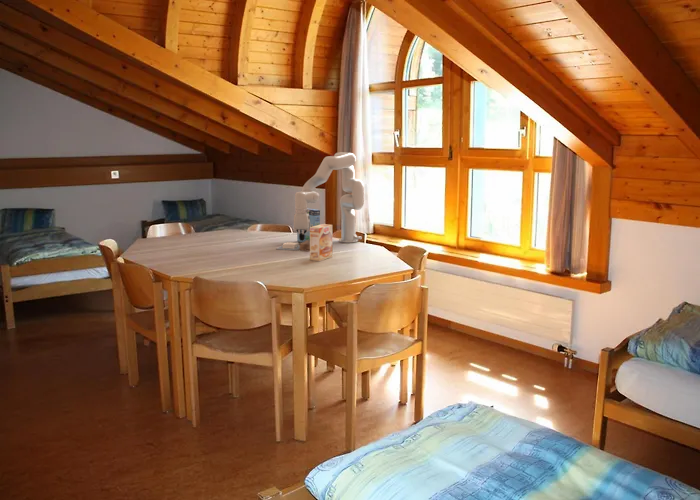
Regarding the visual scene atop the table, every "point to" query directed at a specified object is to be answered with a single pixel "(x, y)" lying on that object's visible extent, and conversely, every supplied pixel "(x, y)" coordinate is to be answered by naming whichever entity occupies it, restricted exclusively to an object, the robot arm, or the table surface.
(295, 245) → the cream coaster
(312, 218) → the gum box
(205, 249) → the table surface
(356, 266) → the table surface
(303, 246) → the board
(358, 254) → the table surface
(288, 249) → the slate mat
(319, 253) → the coffeecake box
